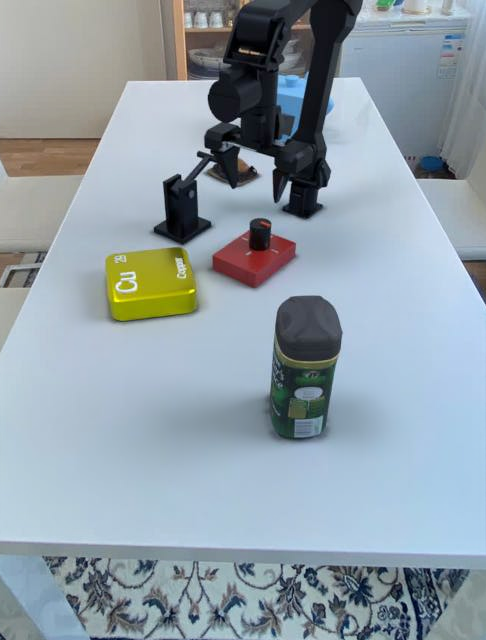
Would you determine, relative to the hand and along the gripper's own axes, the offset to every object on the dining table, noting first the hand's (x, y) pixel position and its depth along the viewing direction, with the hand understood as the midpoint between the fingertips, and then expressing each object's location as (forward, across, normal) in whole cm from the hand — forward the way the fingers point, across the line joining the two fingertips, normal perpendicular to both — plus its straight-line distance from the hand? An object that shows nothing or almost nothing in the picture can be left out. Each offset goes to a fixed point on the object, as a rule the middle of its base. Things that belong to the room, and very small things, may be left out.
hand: (255, 195), depth 101 cm
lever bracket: (+12, +17, +1) cm, 21 cm away
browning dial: (+9, -2, +1) cm, 9 cm away
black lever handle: (+3, +17, -4) cm, 17 cm away
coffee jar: (+12, -29, +32) cm, 45 cm away
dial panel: (+12, -2, +3) cm, 12 cm away
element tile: (+12, +8, +21) cm, 26 cm away
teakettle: (+12, +24, -49) cm, 56 cm away
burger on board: (+12, +23, -25) cm, 36 cm away
